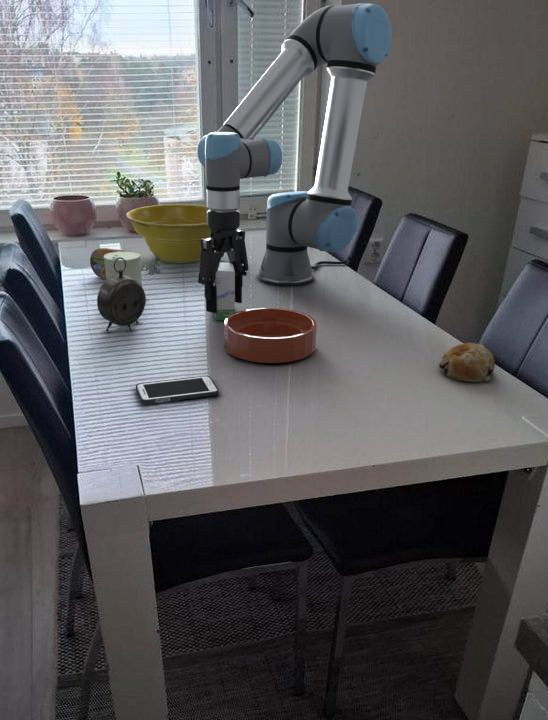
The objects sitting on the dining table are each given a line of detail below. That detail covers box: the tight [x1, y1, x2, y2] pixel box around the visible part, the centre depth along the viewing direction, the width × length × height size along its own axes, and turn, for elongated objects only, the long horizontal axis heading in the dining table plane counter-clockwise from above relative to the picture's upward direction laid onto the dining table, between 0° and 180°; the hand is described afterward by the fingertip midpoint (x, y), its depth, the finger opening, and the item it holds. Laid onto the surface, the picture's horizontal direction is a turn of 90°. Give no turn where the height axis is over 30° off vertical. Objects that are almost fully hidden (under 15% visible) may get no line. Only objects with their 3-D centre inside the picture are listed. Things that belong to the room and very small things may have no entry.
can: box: [104, 250, 143, 287], centre depth 169 cm, size 9×9×12 cm
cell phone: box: [135, 375, 220, 405], centre depth 125 cm, size 8×15×1 cm, turn 107°
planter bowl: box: [125, 203, 211, 264], centre depth 206 cm, size 32×32×13 cm
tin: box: [89, 247, 133, 280], centre depth 187 cm, size 15×3×8 cm, turn 68°
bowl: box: [223, 307, 318, 364], centre depth 143 cm, size 20×20×6 cm
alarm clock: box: [96, 257, 147, 333], centre depth 150 cm, size 11×5×16 cm, turn 135°
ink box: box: [214, 261, 236, 321], centre depth 160 cm, size 8×5×12 cm, turn 5°
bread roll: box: [438, 342, 496, 383], centre depth 132 cm, size 10×10×8 cm
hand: (224, 306), depth 162 cm, fingers closed on ink box, 9 cm apart
